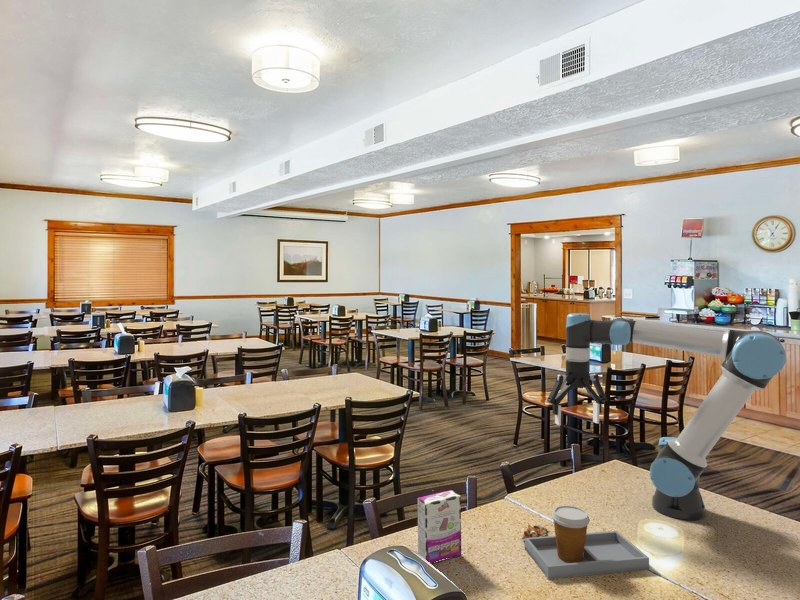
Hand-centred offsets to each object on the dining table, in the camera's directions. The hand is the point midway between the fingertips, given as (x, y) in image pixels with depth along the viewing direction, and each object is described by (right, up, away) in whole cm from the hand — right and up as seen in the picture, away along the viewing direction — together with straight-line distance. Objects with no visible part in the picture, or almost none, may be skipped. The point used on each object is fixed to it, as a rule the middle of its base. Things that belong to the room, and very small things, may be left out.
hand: (577, 423), depth 170 cm
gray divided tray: (-10, -28, -34) cm, 45 cm away
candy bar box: (-48, -28, -33) cm, 65 cm away
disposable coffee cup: (-14, -27, -35) cm, 46 cm away
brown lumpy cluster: (-20, -28, -22) cm, 40 cm away
